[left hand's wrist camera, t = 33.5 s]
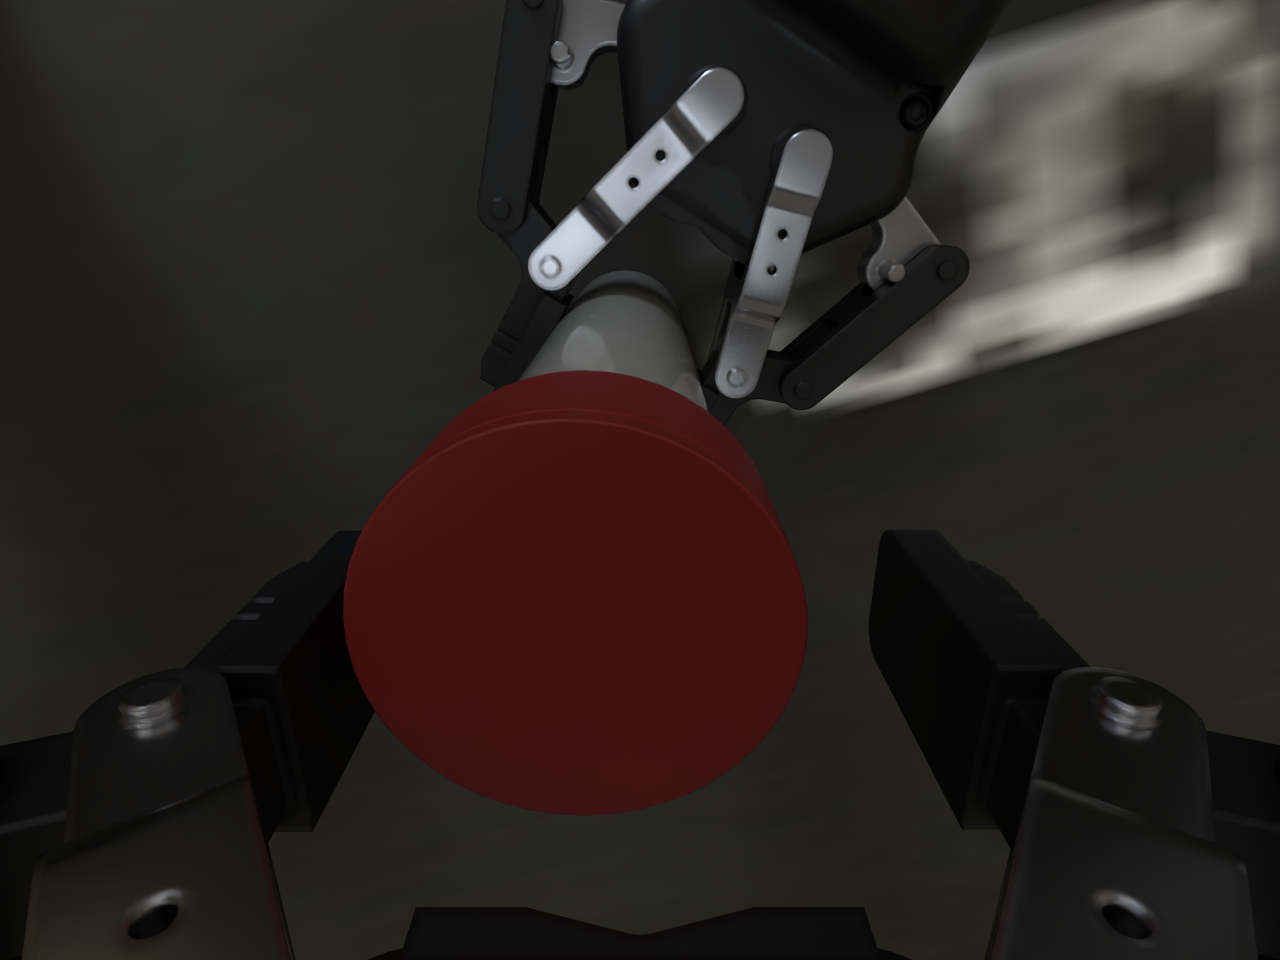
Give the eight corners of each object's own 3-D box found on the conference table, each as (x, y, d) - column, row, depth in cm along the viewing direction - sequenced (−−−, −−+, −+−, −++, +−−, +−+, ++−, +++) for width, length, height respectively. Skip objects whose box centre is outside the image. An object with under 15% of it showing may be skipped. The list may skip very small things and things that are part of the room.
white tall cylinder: (577, 259, 26) (426, 395, 8) (692, 282, 26) (793, 462, 8) (560, 373, 27) (402, 699, 10) (669, 394, 28) (712, 747, 10)
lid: (481, 732, 11) (444, 852, 9) (342, 429, 9) (258, 493, 7) (807, 657, 11) (846, 768, 8) (727, 319, 9) (751, 357, 7)
